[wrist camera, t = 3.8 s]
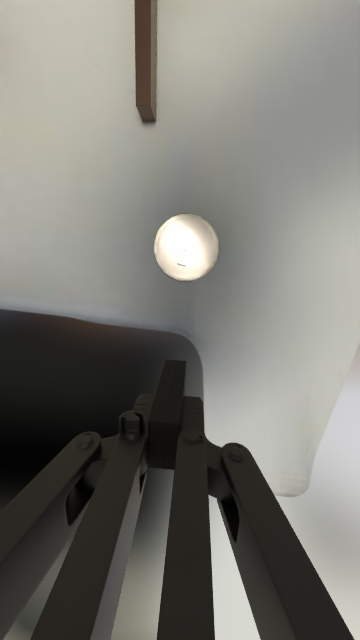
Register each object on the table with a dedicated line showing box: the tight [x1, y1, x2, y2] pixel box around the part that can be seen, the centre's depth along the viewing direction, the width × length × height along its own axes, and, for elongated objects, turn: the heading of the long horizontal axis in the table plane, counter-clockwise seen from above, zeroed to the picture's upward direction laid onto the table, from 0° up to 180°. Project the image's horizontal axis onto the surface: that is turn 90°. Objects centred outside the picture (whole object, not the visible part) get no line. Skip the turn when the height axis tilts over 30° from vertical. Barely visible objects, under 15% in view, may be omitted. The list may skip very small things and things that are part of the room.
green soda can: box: [154, 213, 219, 282], centre depth 24 cm, size 5×5×12 cm
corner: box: [135, 0, 157, 121], centre depth 23 cm, size 10×14×3 cm
